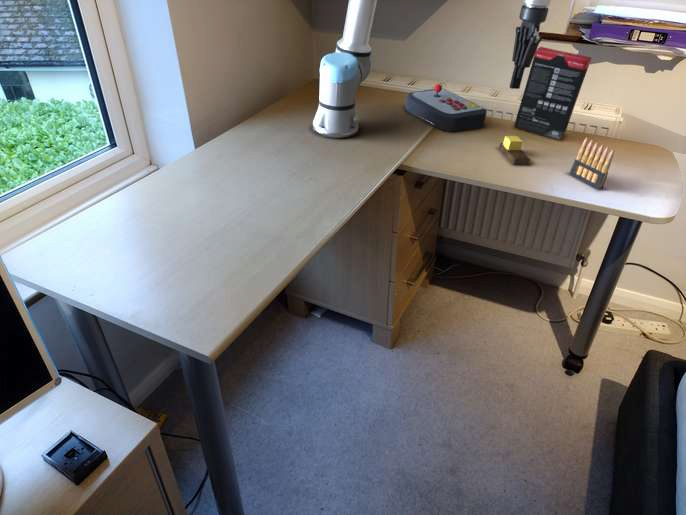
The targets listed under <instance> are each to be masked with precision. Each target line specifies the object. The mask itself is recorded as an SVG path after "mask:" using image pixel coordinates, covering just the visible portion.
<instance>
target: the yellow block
mask: <svg viewBox="0 0 686 515" xmlns="http://www.w3.org/2000/svg"><path fill="white" fill-rule="evenodd" d="M523 142H524V141H523V140H522V139H521V138H520V137H519V136H518V135H505V136H504V139H503V142H502V143H503V145H504V146H505V147H506V148H507V150H522V147H523Z"/></svg>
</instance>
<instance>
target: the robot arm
mask: <svg viewBox="0 0 686 515" xmlns="http://www.w3.org/2000/svg"><path fill="white" fill-rule="evenodd" d="M377 2H378V0H348V5H347V10H346V16H345V21H344V22H345V23H344V26H343V27H344V28H343V34H342V38H340V39H339V40H337V41H336V47H335V52H332V53H327V54H326V55H324V56H323V57H322V59H321V60H320V66H319V96H318V98H319V100H318V108H317V110H316V114H315V116H314V119H313V121H312V130H313V132H314V133H316V134H317V135H319V136H322V137H325V138H330V139H347V138H352V137H354V136H356V135H357V134H358V133H359V127H360V126H359V121H358V115H357V113H356V108H355V107H356V96H357V95H356V94H357V93H356V92H357V88H358V87H359V86H360V85H361V84H362V83H363V82H364V81H366V79H367V77H368V76H369V74H370V70H371V54H372V49H373V48H372V47H371V45H370V44H369V42H370V36H371V31H372V27H373V21H374V18H375V17H374V16H375V12H376V7H377ZM551 2H552V0H522V3H523V4H522V5H521V9H520V12H519V16H518V18H519V20H521V21H522V22H521V24H520V26H516V28H515V38H514V45H513V52H512V59H511V61H512V62H513V65H514V67H513V71H512V75H511V79H510V83H509V88H510V89H512V90H514V89H515V90H520V88H521V83H522V80H523V77H524V72H525V69H526V68H531V66H532V62H533V59H534V55H535V52H536V50H537V49H538V48H539V44H540V43H541V41H542V40H543V36H542V35H539V32H540V26H541V24H542V23H545V22H546V21H547V16H548V13H549V7H550V5H551Z"/></svg>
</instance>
